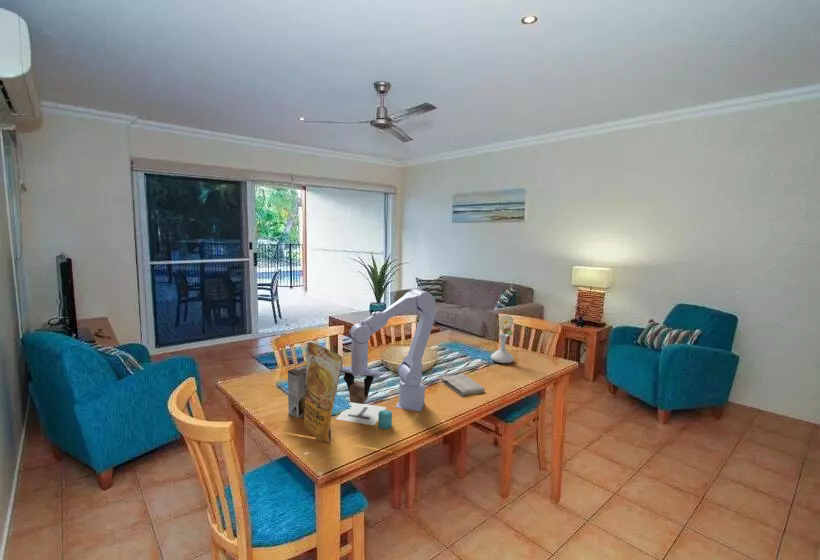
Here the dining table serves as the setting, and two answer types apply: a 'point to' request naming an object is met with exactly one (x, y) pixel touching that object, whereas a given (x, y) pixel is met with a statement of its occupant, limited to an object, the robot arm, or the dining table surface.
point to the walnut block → (357, 392)
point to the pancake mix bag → (321, 389)
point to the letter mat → (361, 413)
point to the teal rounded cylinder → (385, 419)
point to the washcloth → (462, 384)
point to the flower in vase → (503, 341)
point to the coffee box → (297, 391)
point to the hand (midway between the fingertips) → (359, 394)
